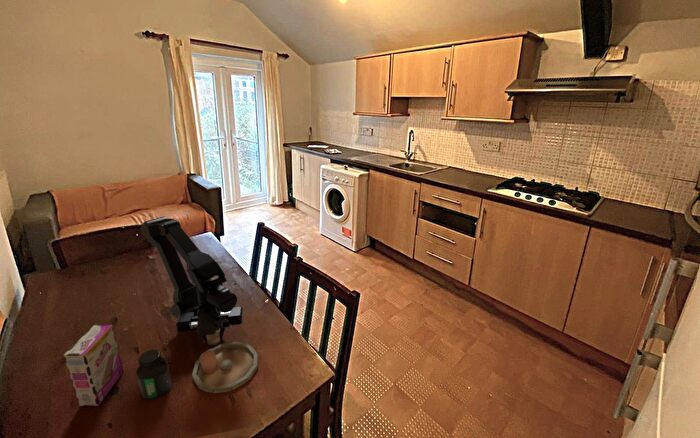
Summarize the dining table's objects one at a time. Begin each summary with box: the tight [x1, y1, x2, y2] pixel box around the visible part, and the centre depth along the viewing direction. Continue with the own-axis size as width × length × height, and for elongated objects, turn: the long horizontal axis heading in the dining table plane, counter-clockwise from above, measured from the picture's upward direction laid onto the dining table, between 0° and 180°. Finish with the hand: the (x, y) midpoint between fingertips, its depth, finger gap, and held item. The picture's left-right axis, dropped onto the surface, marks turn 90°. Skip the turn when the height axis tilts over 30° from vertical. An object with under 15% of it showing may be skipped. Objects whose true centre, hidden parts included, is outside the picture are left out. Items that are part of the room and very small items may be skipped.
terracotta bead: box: [199, 349, 217, 375], centre depth 91 cm, size 4×4×5 cm
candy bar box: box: [63, 324, 124, 407], centre depth 83 cm, size 11×5×16 cm, turn 5°
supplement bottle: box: [136, 348, 172, 401], centre depth 84 cm, size 7×7×12 cm
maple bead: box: [206, 329, 222, 346], centre depth 102 cm, size 4×4×5 cm
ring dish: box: [191, 341, 259, 394], centre depth 93 cm, size 17×17×2 cm
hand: (214, 340), depth 103 cm, fingers closed on maple bead, 4 cm apart
